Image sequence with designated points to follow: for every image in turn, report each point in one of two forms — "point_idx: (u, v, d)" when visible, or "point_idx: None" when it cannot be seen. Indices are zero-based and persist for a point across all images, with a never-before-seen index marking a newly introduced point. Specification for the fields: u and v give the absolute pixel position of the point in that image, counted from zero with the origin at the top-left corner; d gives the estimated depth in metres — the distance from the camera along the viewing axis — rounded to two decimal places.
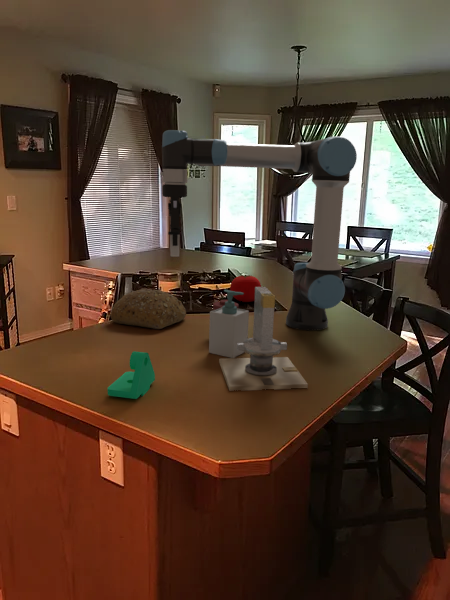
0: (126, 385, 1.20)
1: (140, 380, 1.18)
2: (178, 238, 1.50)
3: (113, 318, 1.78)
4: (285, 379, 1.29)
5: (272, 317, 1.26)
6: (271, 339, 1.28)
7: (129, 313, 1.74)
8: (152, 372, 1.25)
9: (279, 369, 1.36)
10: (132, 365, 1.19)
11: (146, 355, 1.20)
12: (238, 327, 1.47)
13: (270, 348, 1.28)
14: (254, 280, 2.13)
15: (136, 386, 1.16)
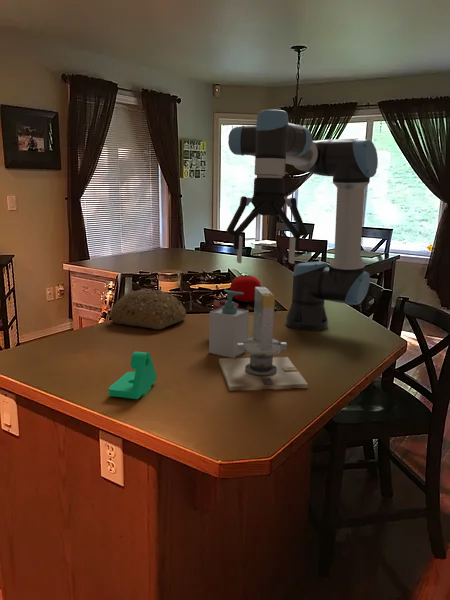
0: (128, 385, 1.20)
1: (141, 380, 1.18)
2: (239, 241, 1.25)
3: (113, 318, 1.77)
4: (285, 379, 1.29)
5: (272, 317, 1.26)
6: (271, 339, 1.28)
7: (129, 313, 1.73)
8: (153, 372, 1.25)
9: (279, 369, 1.36)
10: (133, 365, 1.19)
11: (147, 355, 1.20)
12: (238, 327, 1.47)
13: (270, 348, 1.28)
14: (254, 280, 2.13)
15: (137, 386, 1.16)
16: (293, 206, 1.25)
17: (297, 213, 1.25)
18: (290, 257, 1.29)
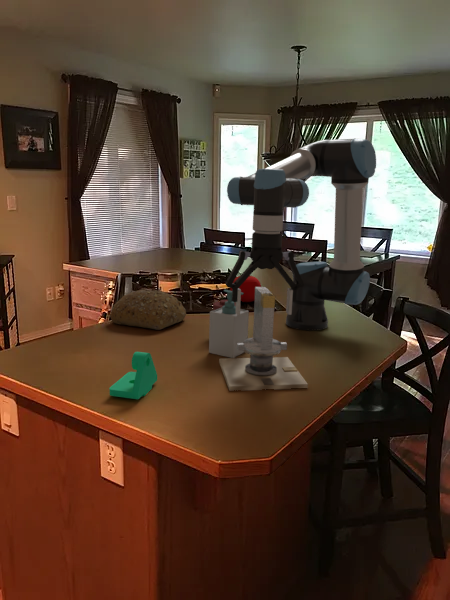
0: (128, 385, 1.20)
1: (142, 380, 1.18)
2: (237, 294, 1.28)
3: (113, 319, 1.77)
4: (285, 379, 1.29)
5: (272, 317, 1.26)
6: (271, 339, 1.28)
7: (129, 313, 1.73)
8: (154, 372, 1.25)
9: (279, 369, 1.36)
10: (134, 365, 1.19)
11: (148, 355, 1.20)
12: (238, 327, 1.47)
13: (270, 348, 1.28)
14: (254, 280, 2.13)
15: (138, 387, 1.16)
16: (290, 260, 1.28)
17: (294, 266, 1.29)
18: (287, 308, 1.32)
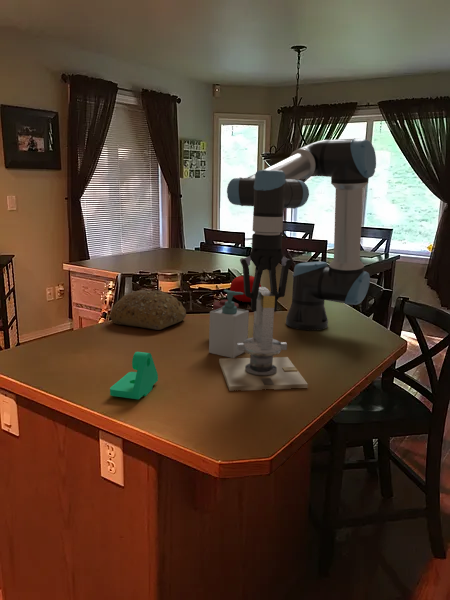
0: (129, 386, 1.20)
1: (142, 380, 1.18)
2: (256, 303, 1.30)
3: (113, 319, 1.77)
4: (285, 379, 1.29)
5: (272, 317, 1.26)
6: (271, 339, 1.28)
7: (129, 313, 1.73)
8: (155, 372, 1.25)
9: (279, 369, 1.36)
10: (135, 365, 1.19)
11: (149, 355, 1.20)
12: (238, 327, 1.47)
13: (270, 348, 1.28)
14: None
15: (138, 387, 1.16)
16: (286, 267, 1.28)
17: (286, 274, 1.29)
18: None
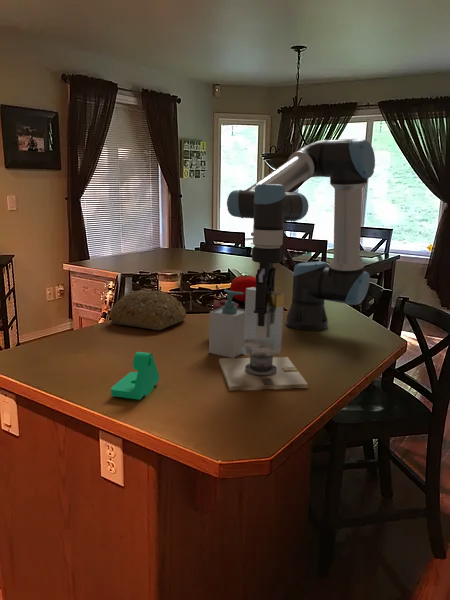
0: (130, 386, 1.20)
1: (143, 381, 1.18)
2: (265, 317, 1.28)
3: (112, 319, 1.76)
4: (285, 379, 1.29)
5: (282, 315, 1.28)
6: (281, 337, 1.30)
7: (129, 314, 1.72)
8: (156, 373, 1.25)
9: (279, 369, 1.36)
10: (136, 366, 1.19)
11: (150, 356, 1.20)
12: (238, 327, 1.47)
13: (280, 346, 1.30)
14: (254, 280, 2.13)
15: (139, 387, 1.16)
16: (274, 274, 1.34)
17: (274, 282, 1.35)
18: None
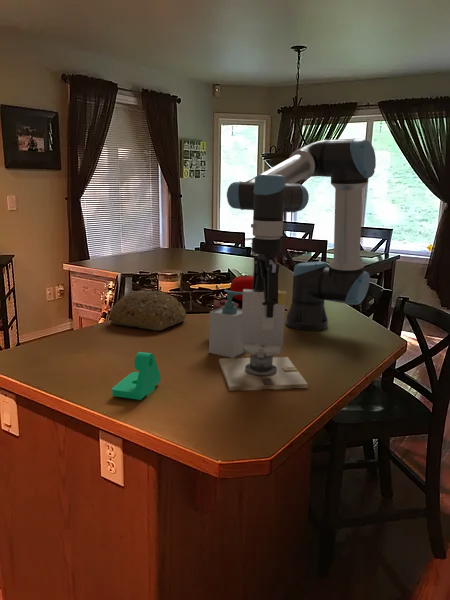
0: (131, 386, 1.20)
1: (144, 381, 1.17)
2: (273, 308, 1.27)
3: (112, 319, 1.76)
4: (285, 379, 1.29)
5: None
6: None
7: (128, 314, 1.72)
8: (157, 373, 1.25)
9: (279, 369, 1.36)
10: (137, 366, 1.19)
11: (151, 356, 1.20)
12: (238, 327, 1.47)
13: None
14: None
15: (140, 387, 1.16)
16: None
17: None
18: None
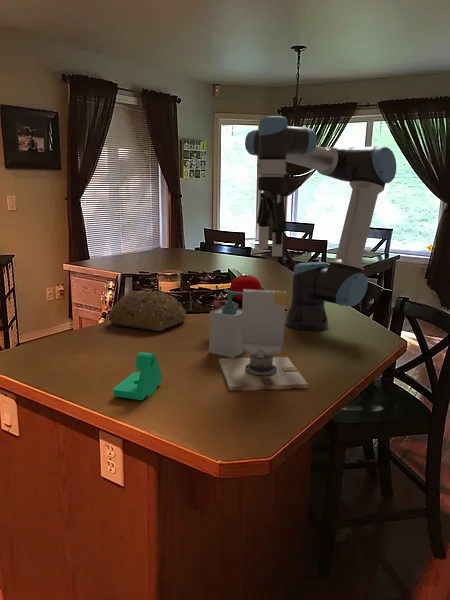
0: (132, 386, 1.19)
1: (146, 381, 1.17)
2: None
3: (112, 320, 1.75)
4: (285, 379, 1.29)
5: None
6: None
7: (128, 314, 1.71)
8: (159, 373, 1.25)
9: (279, 369, 1.36)
10: (138, 366, 1.19)
11: (152, 356, 1.20)
12: (238, 327, 1.47)
13: None
14: (254, 280, 2.13)
15: (141, 387, 1.16)
16: None
17: None
18: (264, 244, 1.50)
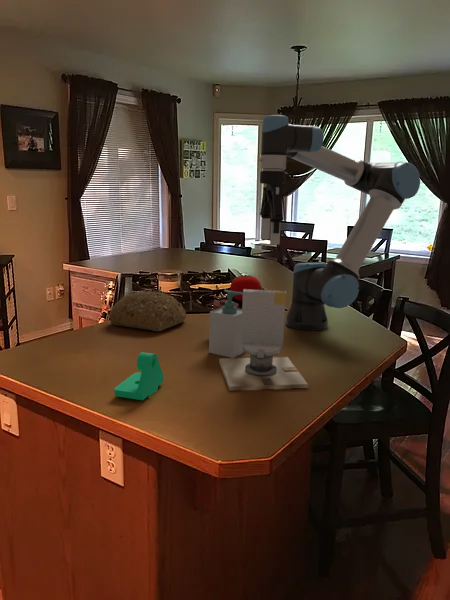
0: (134, 386, 1.19)
1: (147, 381, 1.17)
2: (279, 225, 1.47)
3: (112, 320, 1.75)
4: (285, 379, 1.29)
5: None
6: None
7: (128, 315, 1.71)
8: (160, 373, 1.25)
9: (279, 369, 1.36)
10: (139, 366, 1.19)
11: (154, 356, 1.20)
12: (238, 327, 1.47)
13: None
14: (254, 280, 2.13)
15: (142, 388, 1.16)
16: None
17: None
18: (266, 234, 1.61)
